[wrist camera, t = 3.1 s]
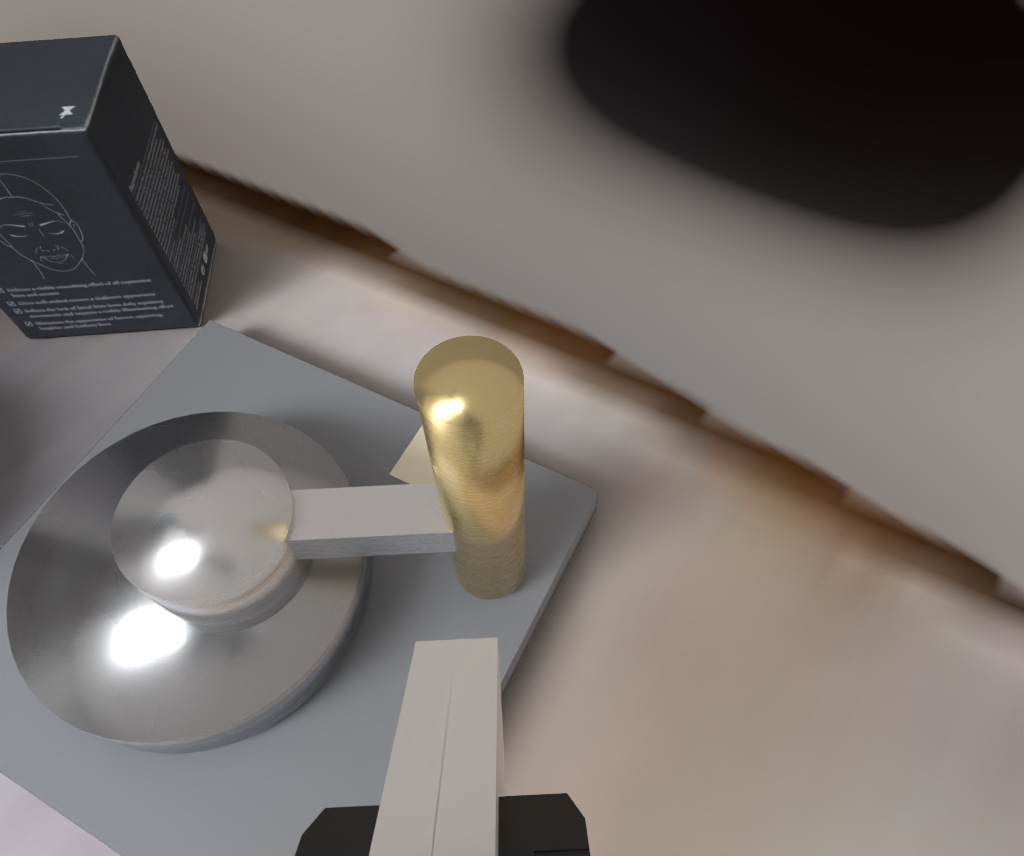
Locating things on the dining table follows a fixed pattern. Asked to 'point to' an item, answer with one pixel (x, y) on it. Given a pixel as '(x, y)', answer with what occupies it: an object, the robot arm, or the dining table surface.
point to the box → (92, 197)
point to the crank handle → (252, 558)
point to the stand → (357, 678)
